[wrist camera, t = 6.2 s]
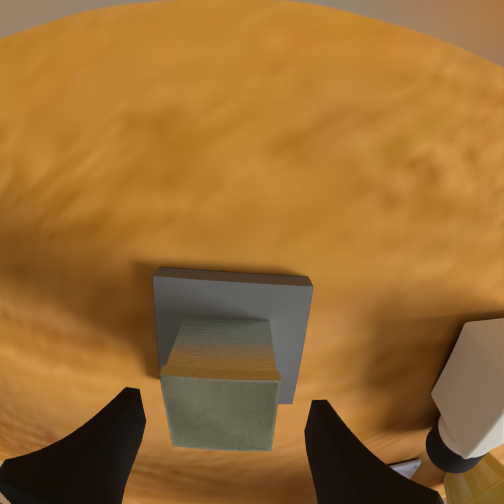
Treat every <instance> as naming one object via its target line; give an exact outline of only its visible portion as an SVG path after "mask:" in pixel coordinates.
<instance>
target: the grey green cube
mask: <svg viewBox="0 0 504 504" xmlns="http://www.w3.org/2000/svg"><path fill="white" fill-rule="evenodd" d="M159 375H160V381H161V388H162V393H163V399H164V405H165V410H166V415H167V421H168V426H169V431H170V435H171V440H172V445H173V446H177V447H187V448H197V449H210V450H227V451H271V450H272V443H273V436H274V429H275V422H276V415H277V407H278V399H279V391H280V383H281V378H280V371H276V364H275V357H274V349H273V342H272V335H271V327H270V320H242V319H216V318H196V317H184V318H183V321H182V324H181V326H180V329H179V332H178V334H177V337H176V340H175V343H174V345H173V348H172V351H171V353H170V356H169V359H168V362H167V365H166V366H164V365H163V366H162V369H161V371H160V374H159Z"/></svg>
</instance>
